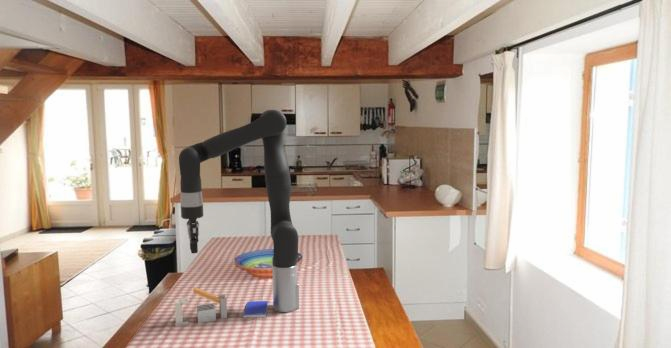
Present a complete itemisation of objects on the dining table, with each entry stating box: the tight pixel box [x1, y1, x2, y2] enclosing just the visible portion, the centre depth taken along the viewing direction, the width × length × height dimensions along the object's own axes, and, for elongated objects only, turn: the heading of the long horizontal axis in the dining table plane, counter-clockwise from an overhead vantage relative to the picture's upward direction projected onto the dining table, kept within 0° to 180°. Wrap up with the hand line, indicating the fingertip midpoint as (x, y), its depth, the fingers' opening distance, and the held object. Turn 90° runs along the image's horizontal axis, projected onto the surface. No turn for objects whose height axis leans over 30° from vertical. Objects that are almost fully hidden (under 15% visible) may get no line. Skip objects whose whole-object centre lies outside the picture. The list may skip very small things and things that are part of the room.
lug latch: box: [174, 297, 189, 323], centre depth 165 cm, size 4×4×8 cm
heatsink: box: [196, 302, 217, 324], centre depth 168 cm, size 6×6×4 cm
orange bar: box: [192, 287, 221, 304], centre depth 168 cm, size 12×2×2 cm
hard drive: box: [242, 300, 269, 318], centre depth 178 cm, size 2×8×12 cm
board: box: [174, 293, 228, 327], centre depth 168 cm, size 19×15×8 cm
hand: (193, 251), depth 168 cm, fingers open, 3 cm apart
